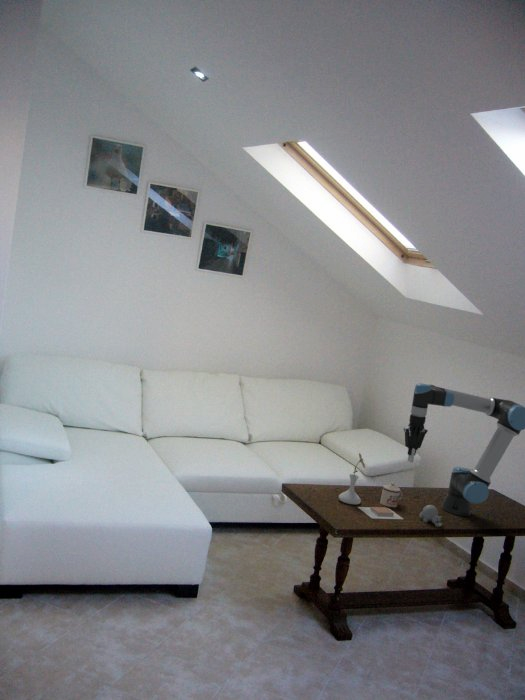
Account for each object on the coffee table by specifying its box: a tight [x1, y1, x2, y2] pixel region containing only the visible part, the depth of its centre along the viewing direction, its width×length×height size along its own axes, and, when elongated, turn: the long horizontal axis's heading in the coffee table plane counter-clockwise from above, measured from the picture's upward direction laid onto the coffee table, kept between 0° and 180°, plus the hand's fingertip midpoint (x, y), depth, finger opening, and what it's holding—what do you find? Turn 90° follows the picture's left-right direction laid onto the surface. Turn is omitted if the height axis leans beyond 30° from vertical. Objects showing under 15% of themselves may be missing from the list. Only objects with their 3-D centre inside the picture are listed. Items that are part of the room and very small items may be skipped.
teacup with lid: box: [379, 482, 403, 508], centre depth 350 cm, size 12×9×12 cm
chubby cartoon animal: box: [418, 504, 443, 528], centre depth 332 cm, size 7×12×8 cm, turn 32°
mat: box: [357, 506, 404, 520], centre depth 334 cm, size 18×14×1 cm
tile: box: [370, 506, 394, 516], centre depth 334 cm, size 2×7×9 cm
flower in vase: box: [337, 452, 366, 505], centre depth 343 cm, size 13×11×25 cm
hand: (410, 461), depth 340 cm, fingers closed
